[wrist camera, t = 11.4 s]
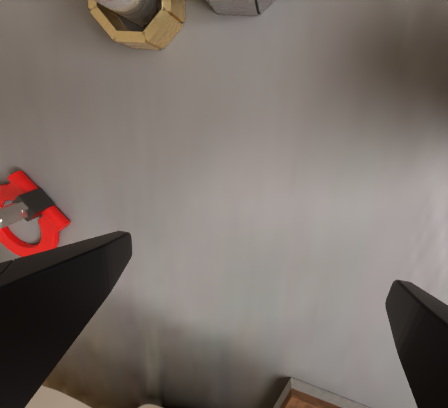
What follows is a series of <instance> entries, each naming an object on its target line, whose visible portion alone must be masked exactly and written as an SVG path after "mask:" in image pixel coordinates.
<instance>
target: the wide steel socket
mask: <svg viewBox="0 0 448 408" xmlns="http://www.w3.org/2000/svg"><path fill="white" fill-rule="evenodd" d="M206 1H207V2H208V4H209V5H210V6H211V8H212V9H213V10H214V12H215V13H216V12H217V14H218V15H247V16H258V12H259V13H260V15H261V14H262V13H263V12H264V11H265V10H266V9H267V8H268V7H269V6H270V5H271V4H272V3H273V1H274V0H206Z"/></svg>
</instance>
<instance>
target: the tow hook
mask: <svg viewBox="0 0 448 408" xmlns="http://www.w3.org/2000/svg"><path fill="white" fill-rule="evenodd" d="M8 180H9V181H10V183H9V184H4V185H0V242H1V243H2V244H3V245H4V246H5V247H6V248H8V249H9V250H11V251H12V252H13V253H15V254H17V255H19V256H21V257H24V256H28V255H32V254H35V253H39V252H43V251H47V250H50V249H54V248H56V247H57V245H58V242H59V231H60V230H62V229H64V228H65V227H67V226H68V225H69V224H70V221H69V220H68V219H67V218H66V217H65V216H64V215H63V214H62V213H61V212H60V211H59V210H58V208H57V207H56V206H55V204H54V203H53V201H52V200H51V199H50V198H49V197H48V196H47V195H46V194H45V193H44V192H43V191H42V190H41V189H39V188H38V187H37V186H36V185H35V184H34V183H33V182H32V181H31V180H30V179H29V178H28V177H27V176H26V175H25V173H24V172H23V171H17V172H15V173H13V174H11V175H10V176H9V177H8ZM6 200H13V202H12V203H11V204H10V205H7V206H4V207H3V204H4V203H5V201H6ZM40 215H42V217H41V218H40V219H39V220H38V223H39V225H40V228H41V233H42V237H41V240H40V243H39V244H37V245H31V244H27V243H25V242H23V241H21V240H20V239H18V238H17V237H16V236H15V235H14V234H13V233H12V232H11V231H10V230H9V228H8V227H7V226H8V225H11V224H13V223H15V222H17V221H19V220H21V219H25V220H26V221H30V220H32V219H34V218H36V217H38V216H40Z"/></svg>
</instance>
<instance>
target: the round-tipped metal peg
mask: <svg viewBox="0 0 448 408" xmlns="http://www.w3.org/2000/svg"><path fill="white" fill-rule="evenodd" d="M94 1H96V2H98V3H100V4H101V5H103V6H105V7H107V8H109V9H110V10H112V11H114V12H116V13H118V14H119V15H121V16H123V17H125V18H127V19H128V20H130V21H132V22H134V23H136V24H138V25H139V26H141V27H143V28H146V27H147V26H148V25H149V24H150V22H151V21H152V20H153V19H154V17H155V16H156V15H157V14H158V12H159V11H160V10H161V9H162V0H94Z"/></svg>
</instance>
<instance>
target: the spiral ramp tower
mask: <svg viewBox="0 0 448 408" xmlns="http://www.w3.org/2000/svg"><path fill="white" fill-rule="evenodd" d="M273 408H369V407H367V406H364V405H362V404H359V403H356V402H354V401H351V400H349V399H346V398H344V397H341V396H338V395H336V394H333V393H331V392H328V391H325V390H323V389H320V388H318V387H315V386H312V385H310V384H307V383H305V382H302V381H299V380H297V379H294V378H292V377H291V378H290V380H289V381H288V383H287V385H286V386H285V388H284V390H283V392H282V393H281V395H280V397H279V398H278V400H277V402H276V404H275V405H274V407H273Z"/></svg>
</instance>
